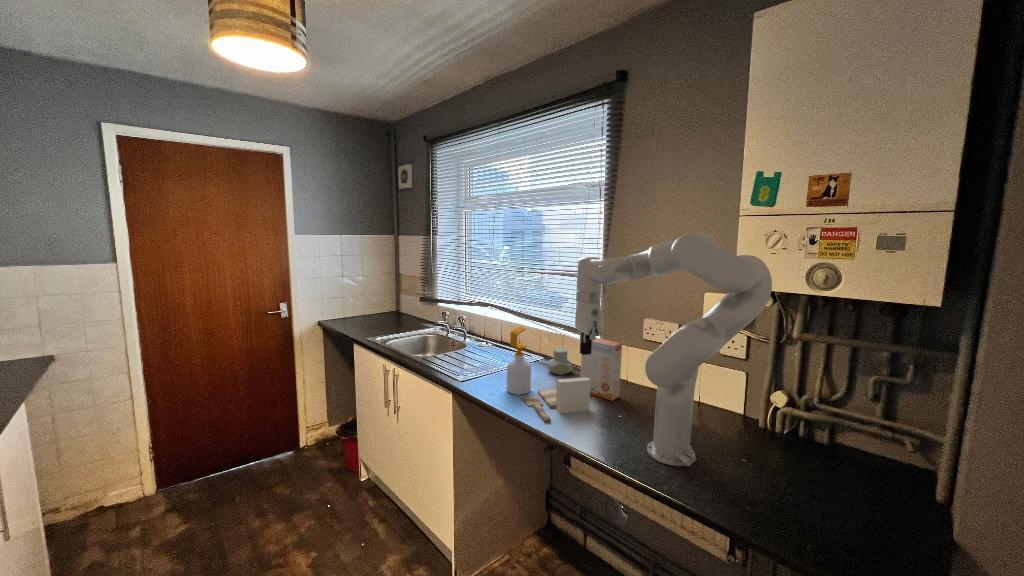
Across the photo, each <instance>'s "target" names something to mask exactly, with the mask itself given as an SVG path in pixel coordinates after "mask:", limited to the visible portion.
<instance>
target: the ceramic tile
mask: <svg viewBox="0 0 1024 576" xmlns="http://www.w3.org/2000/svg"><path fill="white" fill-rule="evenodd" d="M590 382H591V380H590V379H589V378H587V377H581V376H580V377H569V378H558V379H556V389H557V397H556V408H555V410H556V411H557V413H558V414H559V415H560V414H569V413H570V414H571V413H577V412H589V411H590V403H591V402H590V400H591V399H590V398H591V394H590Z"/></svg>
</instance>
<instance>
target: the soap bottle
mask: <svg viewBox="0 0 1024 576" xmlns="http://www.w3.org/2000/svg"><path fill="white" fill-rule="evenodd" d="M523 332H526V328H525V327H522V326H519V327H516V328H515V329H512V330H511V332H510V336H509V337H510V338H509V339H510V346H511V347H513V348H515V350H516V351H515V353H514V358H513V359H511V360H510V361H509V362H508V363H507V365H506V391H507V392H508V393H509V394H512V395H518V396H522V395H527V394H528V393H530V392H531V389H532V388H531V384H532V383H531V381H532V378H531V375H532V366H531V363H530V362H529V361H528V360H527V359H525V358H524V357H525V355H524V352H522V350H524V349H525V348H527V345H526V344H523V343H518V336H519V334H521V333H523Z"/></svg>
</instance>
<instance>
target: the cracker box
mask: <svg viewBox="0 0 1024 576" xmlns="http://www.w3.org/2000/svg"><path fill="white" fill-rule="evenodd" d="M622 349H623V343H622V342H617V341H613V340H609V339H604V338H597V337H596V339H595V340H593V342H592V348H591V354H589V355H582V354H581V353H580V354H581V355H580V356H581V358H580V360H581V361H580V378H581V377H587V378H589V379H590V380H591V382H590V396H594V397H598V398H602V399H605V400H608V401H611V402H613V401H614V400H616V399H618V398H620V391H621V390H620V389H621V370H622V369H621V368H622V352H623V351H622Z"/></svg>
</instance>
